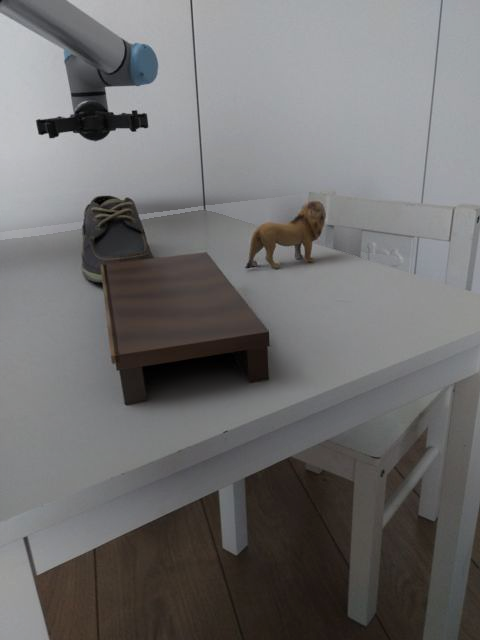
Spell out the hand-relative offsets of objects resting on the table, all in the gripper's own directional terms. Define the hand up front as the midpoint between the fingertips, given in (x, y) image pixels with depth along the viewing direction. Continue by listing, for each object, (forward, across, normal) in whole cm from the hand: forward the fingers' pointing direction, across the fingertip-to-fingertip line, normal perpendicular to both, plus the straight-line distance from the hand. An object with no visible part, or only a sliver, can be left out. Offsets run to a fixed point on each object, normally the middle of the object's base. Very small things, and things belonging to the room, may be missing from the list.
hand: (94, 126), depth 101 cm
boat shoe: (+19, 0, -20) cm, 28 cm away
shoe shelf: (+50, -5, -20) cm, 55 cm away
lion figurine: (+28, -26, -20) cm, 44 cm away
